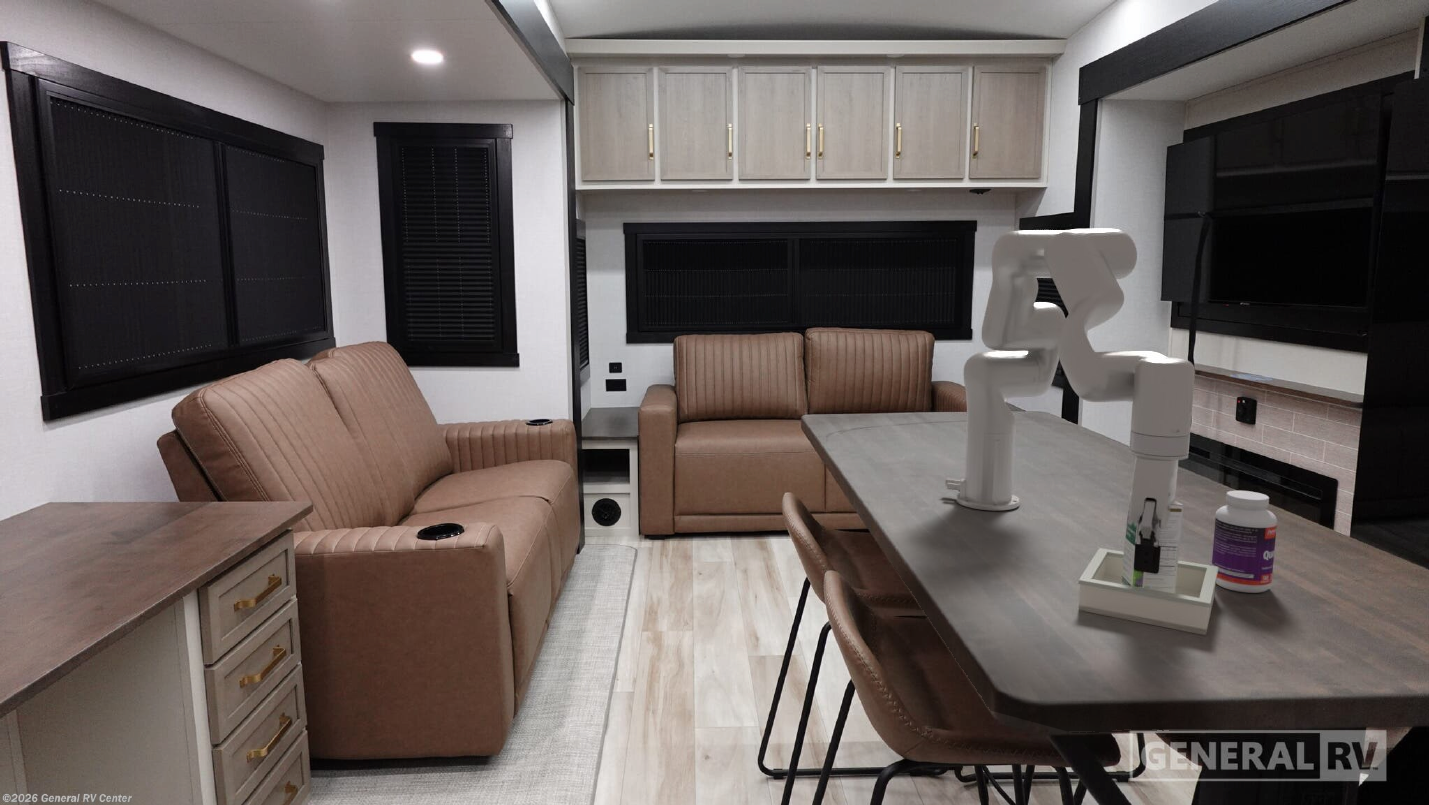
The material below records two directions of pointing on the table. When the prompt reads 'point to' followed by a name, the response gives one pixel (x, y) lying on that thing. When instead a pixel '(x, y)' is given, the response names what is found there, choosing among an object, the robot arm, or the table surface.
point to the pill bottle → (1244, 542)
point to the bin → (1149, 594)
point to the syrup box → (1168, 554)
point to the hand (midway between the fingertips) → (1149, 562)
